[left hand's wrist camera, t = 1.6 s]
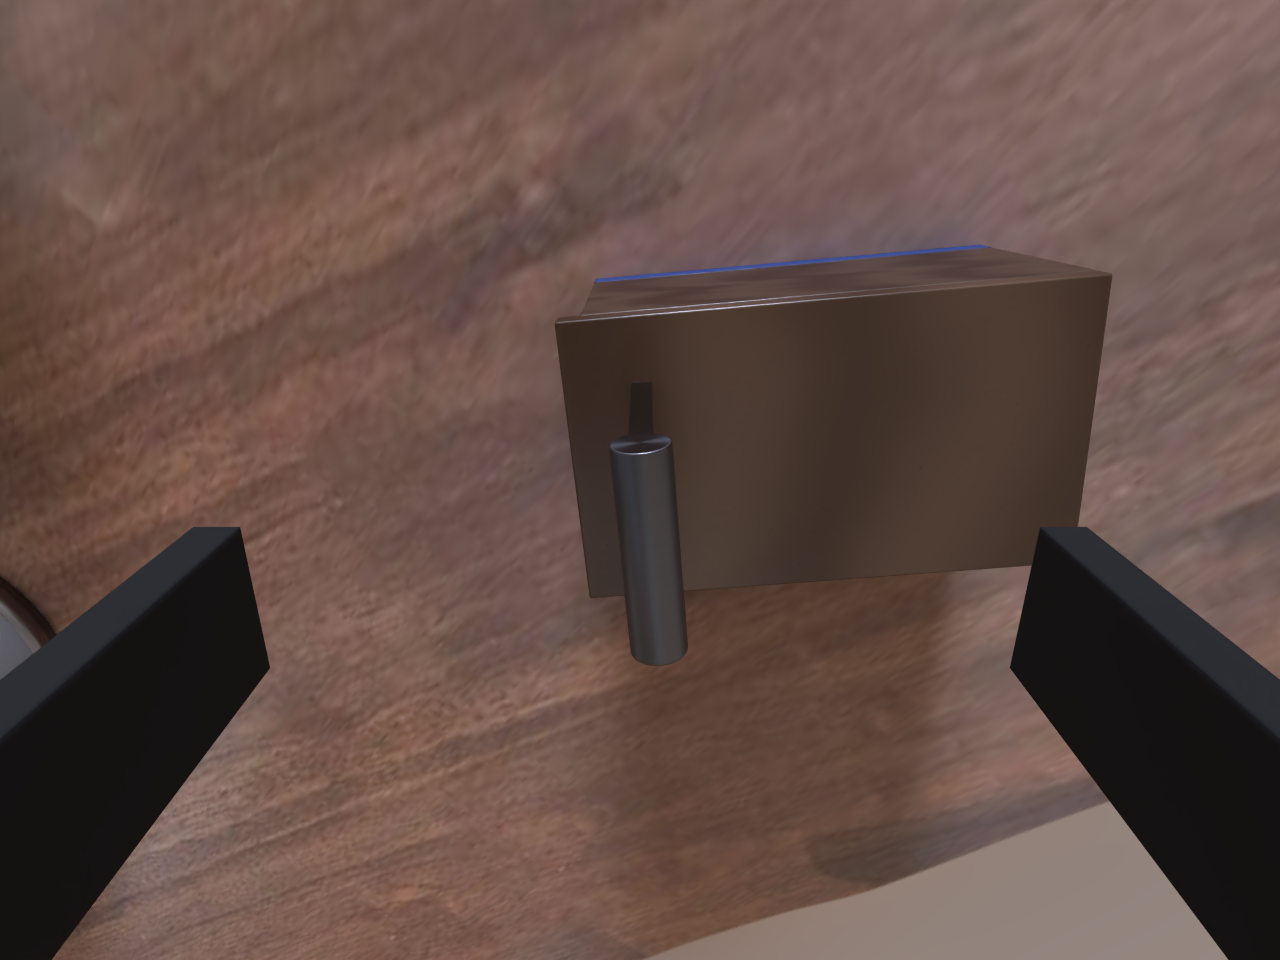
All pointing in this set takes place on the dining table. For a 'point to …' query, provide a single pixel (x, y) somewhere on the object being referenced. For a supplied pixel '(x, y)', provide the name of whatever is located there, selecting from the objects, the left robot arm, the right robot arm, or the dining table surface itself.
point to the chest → (815, 278)
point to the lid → (826, 437)
